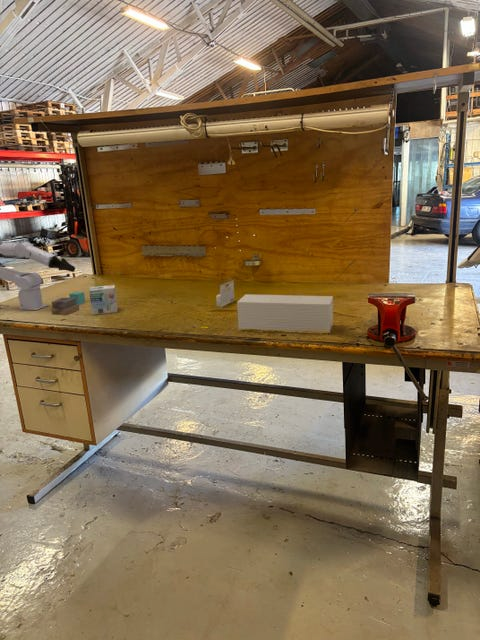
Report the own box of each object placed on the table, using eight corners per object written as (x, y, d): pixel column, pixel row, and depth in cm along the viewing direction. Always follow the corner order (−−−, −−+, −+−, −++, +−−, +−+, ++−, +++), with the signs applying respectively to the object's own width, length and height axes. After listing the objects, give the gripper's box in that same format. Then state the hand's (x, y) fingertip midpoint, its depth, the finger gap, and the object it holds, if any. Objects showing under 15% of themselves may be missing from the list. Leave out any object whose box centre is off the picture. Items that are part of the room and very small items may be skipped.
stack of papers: (238, 331, 161) (237, 301, 158) (246, 322, 171) (245, 294, 167) (329, 335, 152) (329, 304, 149) (332, 325, 162) (332, 296, 158)
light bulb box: (92, 315, 190) (88, 290, 187) (92, 311, 197) (89, 287, 193) (118, 312, 193) (114, 287, 190) (117, 308, 199) (114, 284, 196)
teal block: (71, 304, 210) (69, 294, 208) (77, 302, 214) (75, 291, 213) (79, 304, 209) (77, 294, 207) (85, 302, 213) (83, 292, 211)
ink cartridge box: (216, 307, 192) (215, 284, 189) (230, 300, 201) (229, 279, 199) (221, 307, 191) (220, 285, 188) (235, 301, 200) (233, 279, 197)
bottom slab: (52, 315, 195) (51, 308, 194) (64, 310, 202) (63, 303, 201) (67, 316, 193) (66, 309, 192) (79, 310, 200) (78, 304, 199)
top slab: (52, 308, 195) (51, 301, 194) (62, 304, 201) (61, 297, 200) (66, 308, 193) (65, 302, 192) (76, 304, 199) (75, 297, 198)
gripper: (38, 246, 192) (68, 258, 192) (53, 251, 206) (80, 262, 206) (32, 261, 192) (61, 273, 192) (47, 265, 206) (74, 276, 206)
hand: (71, 268), depth 199 cm, fingers open, 7 cm apart
